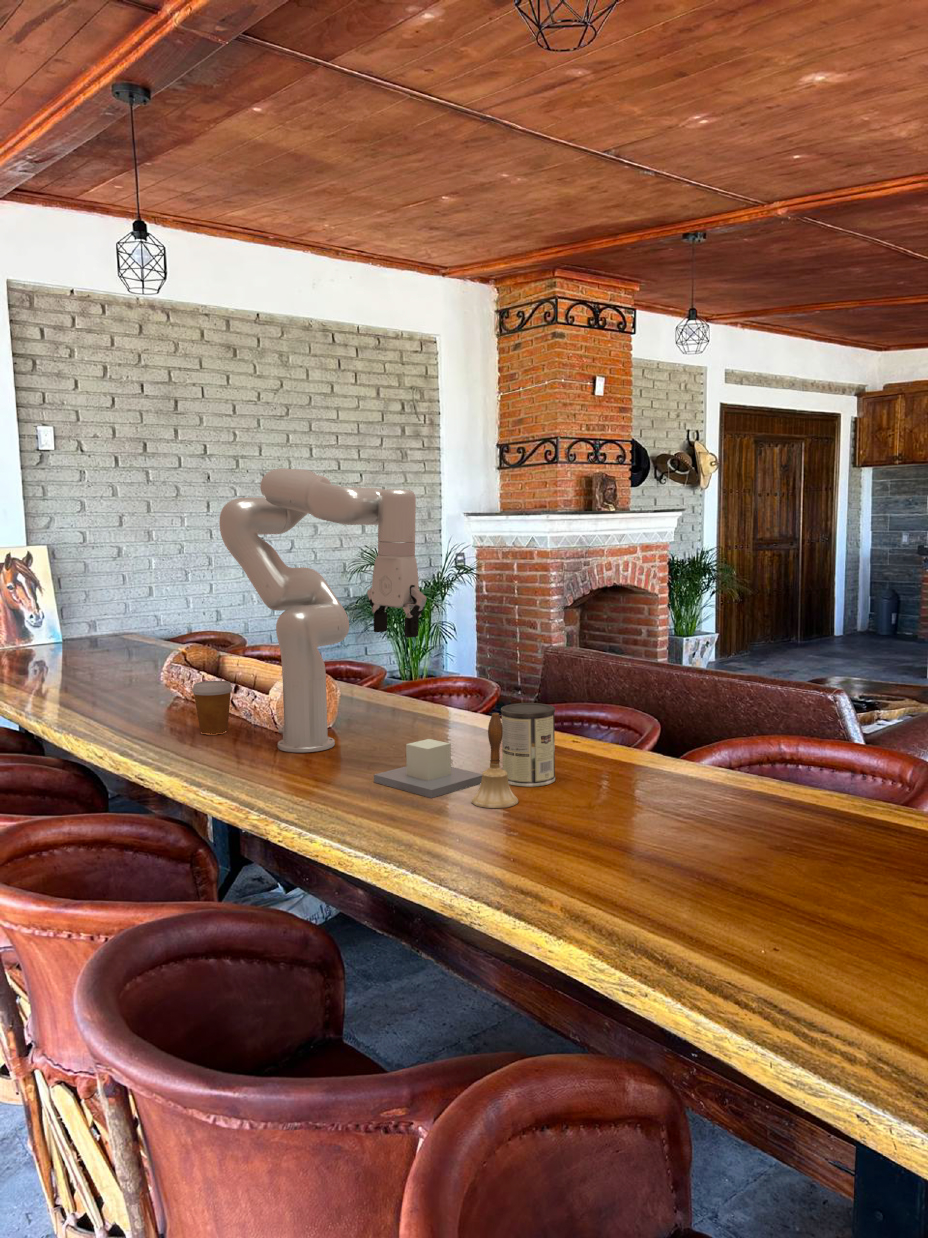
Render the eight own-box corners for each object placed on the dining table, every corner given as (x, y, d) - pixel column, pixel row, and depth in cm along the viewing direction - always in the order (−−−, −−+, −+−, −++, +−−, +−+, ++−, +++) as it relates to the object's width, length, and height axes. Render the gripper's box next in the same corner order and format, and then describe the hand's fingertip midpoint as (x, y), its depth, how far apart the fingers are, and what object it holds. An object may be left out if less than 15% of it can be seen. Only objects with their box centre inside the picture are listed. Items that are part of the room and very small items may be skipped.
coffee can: (513, 770, 188) (512, 701, 187) (562, 776, 184) (562, 704, 182) (493, 783, 179) (492, 710, 177) (544, 789, 174) (544, 714, 173)
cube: (406, 775, 180) (406, 744, 180) (429, 769, 184) (428, 738, 184) (428, 780, 176) (427, 749, 175) (451, 774, 180) (450, 743, 180)
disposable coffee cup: (242, 731, 228) (240, 682, 227) (212, 738, 220) (210, 688, 219) (215, 727, 233) (213, 679, 232) (184, 734, 225) (182, 684, 224)
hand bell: (494, 792, 173) (493, 707, 171) (528, 801, 167) (527, 713, 165) (461, 802, 167) (460, 713, 166) (495, 812, 161) (494, 720, 160)
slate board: (374, 782, 181) (373, 774, 181) (427, 768, 191) (426, 761, 191) (431, 798, 170) (431, 790, 170) (484, 782, 180) (484, 774, 180)
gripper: (355, 549, 194) (355, 631, 196) (410, 553, 182) (409, 640, 184) (383, 548, 200) (382, 628, 202) (439, 552, 187) (437, 637, 189)
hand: (395, 634), depth 193 cm, fingers open, 9 cm apart
